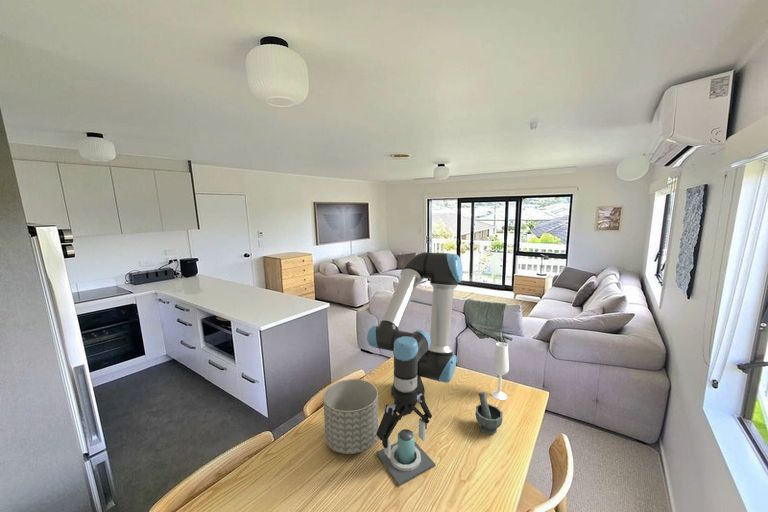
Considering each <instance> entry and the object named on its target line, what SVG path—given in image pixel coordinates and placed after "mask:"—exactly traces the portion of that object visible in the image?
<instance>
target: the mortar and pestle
mask: <svg viewBox="0 0 768 512" xmlns="http://www.w3.org/2000/svg"><path fill="white" fill-rule="evenodd" d="M486 395H487V394H486V392H485V391H481V392H480V391H479V392H478V397H479V402H480V403H479V405H477V406H476V407H475V419H476V421H477V423H478V424H479V429H480V430H481V432H483V433H485V434H487V435H495V434H496V433H497V430H498V428H500V427H501V425H502V424H503V423H502V422H503V411H501V410H500V408H499V407H498V406H496V405H495V406H494V405H492V404H489V403H488V401H487V397H486Z"/></svg>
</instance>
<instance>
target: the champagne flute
mask: <svg viewBox="0 0 768 512" xmlns="http://www.w3.org/2000/svg"><path fill="white" fill-rule="evenodd" d="M495 343H496V344H495V349H494V355H493V362H492V369H493V371H494V372H495V373H496V374H497V375H498V385H497V386H498V389H497V390H494V391H492V392H491V393H490V394H491V396H492V397H493V398H494V399H496V400H499V401H500V400H501V401H505V400H507V399H508V395H507V394H506V393H505V392H503V391H502V381H503V379H502V376H504V375H506V374H507V373H508V372H509V371H510V363H509V345H508V343H505V342H502V341H499V342H495Z"/></svg>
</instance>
